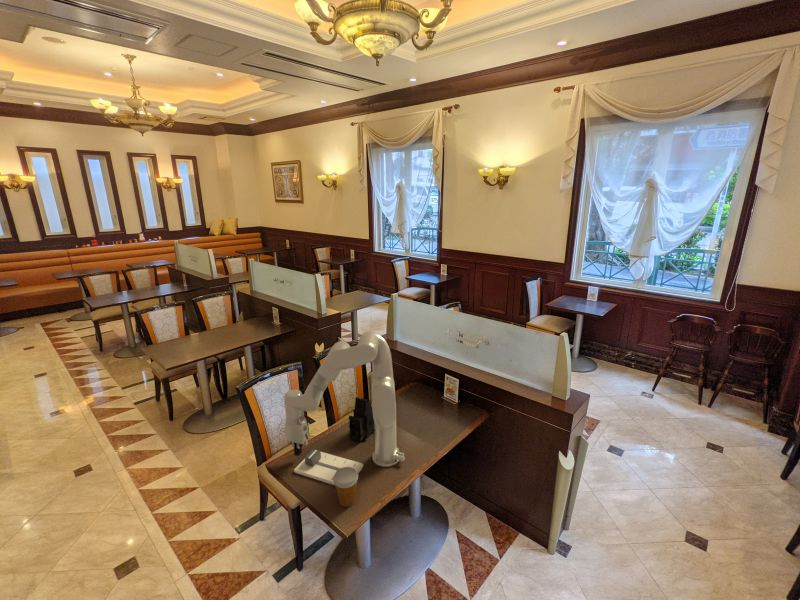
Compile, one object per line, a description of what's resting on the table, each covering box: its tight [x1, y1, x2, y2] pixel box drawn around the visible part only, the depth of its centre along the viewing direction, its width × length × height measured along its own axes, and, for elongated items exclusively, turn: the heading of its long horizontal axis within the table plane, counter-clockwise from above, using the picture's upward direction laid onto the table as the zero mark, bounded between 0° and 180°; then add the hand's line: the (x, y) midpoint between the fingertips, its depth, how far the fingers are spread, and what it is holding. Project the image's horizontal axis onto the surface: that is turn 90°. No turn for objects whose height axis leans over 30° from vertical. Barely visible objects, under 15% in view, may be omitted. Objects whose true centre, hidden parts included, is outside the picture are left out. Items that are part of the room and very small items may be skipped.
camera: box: [348, 396, 375, 442], centre depth 180 cm, size 10×14×20 cm
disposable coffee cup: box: [333, 467, 359, 508], centre depth 142 cm, size 10×10×12 cm
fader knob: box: [304, 448, 322, 466], centre depth 162 cm, size 4×6×4 cm, turn 158°
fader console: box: [293, 451, 364, 486], centre depth 160 cm, size 26×14×2 cm, turn 68°
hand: (298, 453), depth 165 cm, fingers closed
